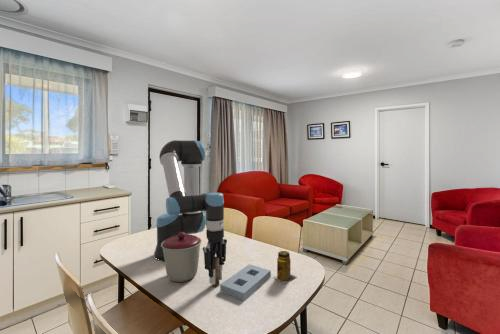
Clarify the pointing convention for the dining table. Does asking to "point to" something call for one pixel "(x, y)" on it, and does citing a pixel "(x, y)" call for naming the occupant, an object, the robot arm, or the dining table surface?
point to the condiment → (284, 267)
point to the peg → (216, 271)
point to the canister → (181, 256)
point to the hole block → (245, 281)
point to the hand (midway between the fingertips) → (215, 281)
